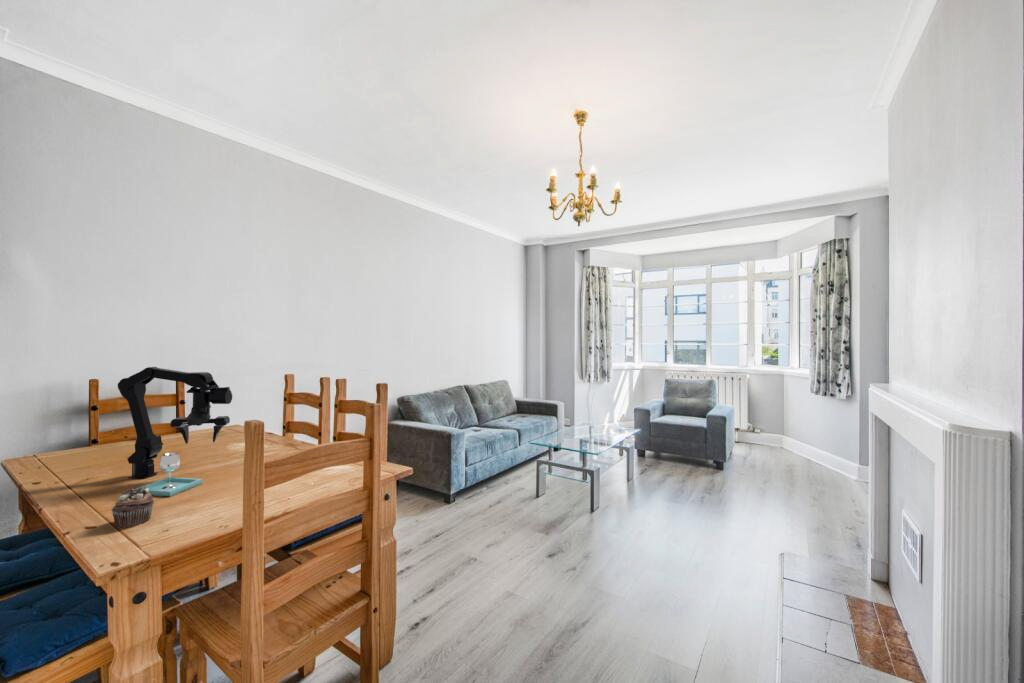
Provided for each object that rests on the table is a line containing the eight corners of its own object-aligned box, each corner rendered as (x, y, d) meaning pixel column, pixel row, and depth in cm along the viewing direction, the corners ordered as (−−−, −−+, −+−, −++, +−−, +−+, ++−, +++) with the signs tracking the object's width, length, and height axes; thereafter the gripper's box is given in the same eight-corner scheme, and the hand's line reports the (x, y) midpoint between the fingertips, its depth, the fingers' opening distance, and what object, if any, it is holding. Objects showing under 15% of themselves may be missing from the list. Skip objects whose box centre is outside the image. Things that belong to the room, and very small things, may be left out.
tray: (133, 494, 153) (133, 489, 153) (168, 481, 167) (168, 477, 167) (170, 496, 151) (170, 491, 151) (202, 483, 165) (202, 479, 165)
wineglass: (157, 490, 155) (158, 457, 155) (161, 485, 160) (162, 453, 160) (177, 488, 158) (178, 455, 158) (180, 483, 163) (181, 451, 163)
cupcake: (155, 513, 138) (156, 481, 137) (150, 524, 129) (151, 491, 129) (115, 519, 132) (115, 486, 132) (107, 531, 124) (108, 496, 124)
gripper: (164, 407, 165) (163, 449, 165) (222, 406, 170) (221, 446, 170) (176, 403, 175) (176, 442, 175) (230, 402, 181) (229, 440, 181)
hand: (200, 442), depth 175 cm, fingers open, 9 cm apart
